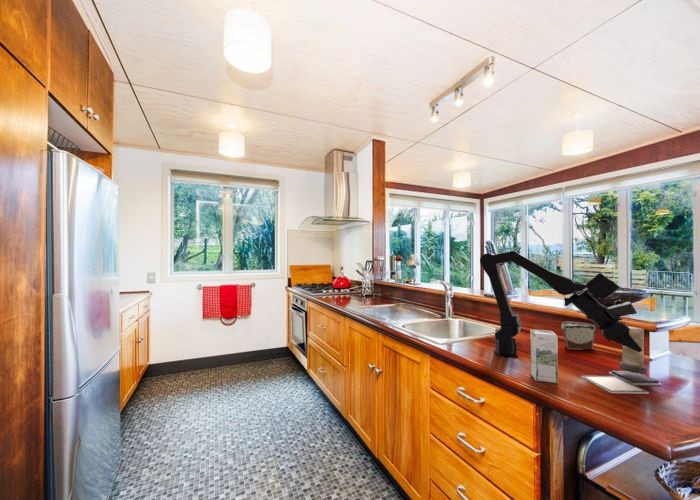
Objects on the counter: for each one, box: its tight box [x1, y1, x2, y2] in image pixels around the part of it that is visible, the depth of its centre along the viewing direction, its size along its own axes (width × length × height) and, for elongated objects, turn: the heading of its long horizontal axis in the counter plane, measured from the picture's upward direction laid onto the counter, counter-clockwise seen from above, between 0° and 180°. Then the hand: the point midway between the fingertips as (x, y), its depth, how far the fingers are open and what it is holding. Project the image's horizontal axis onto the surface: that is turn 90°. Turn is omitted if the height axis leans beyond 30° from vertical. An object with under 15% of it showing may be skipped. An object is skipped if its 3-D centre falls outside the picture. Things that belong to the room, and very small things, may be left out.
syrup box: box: [529, 328, 559, 384], centre depth 86 cm, size 6×6×14 cm
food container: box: [560, 321, 597, 350], centre depth 117 cm, size 12×6×10 cm, turn 84°
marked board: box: [580, 375, 650, 395], centre depth 82 cm, size 10×10×1 cm
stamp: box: [618, 325, 648, 375], centre depth 86 cm, size 6×6×13 cm
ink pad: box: [608, 370, 663, 386], centre depth 86 cm, size 8×8×1 cm
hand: (639, 349), depth 85 cm, fingers closed on stamp, 5 cm apart
